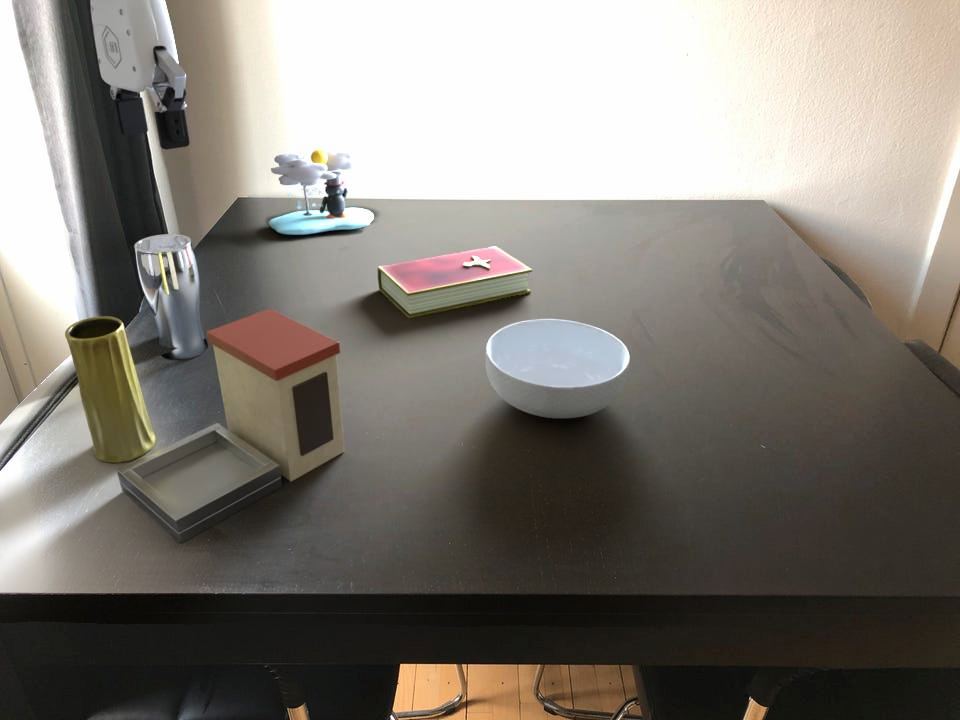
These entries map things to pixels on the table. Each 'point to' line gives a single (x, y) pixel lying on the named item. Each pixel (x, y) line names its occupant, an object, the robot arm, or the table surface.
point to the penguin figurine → (309, 175)
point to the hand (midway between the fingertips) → (154, 140)
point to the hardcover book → (453, 281)
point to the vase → (110, 389)
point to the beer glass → (172, 292)
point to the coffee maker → (247, 427)
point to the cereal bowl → (556, 367)
